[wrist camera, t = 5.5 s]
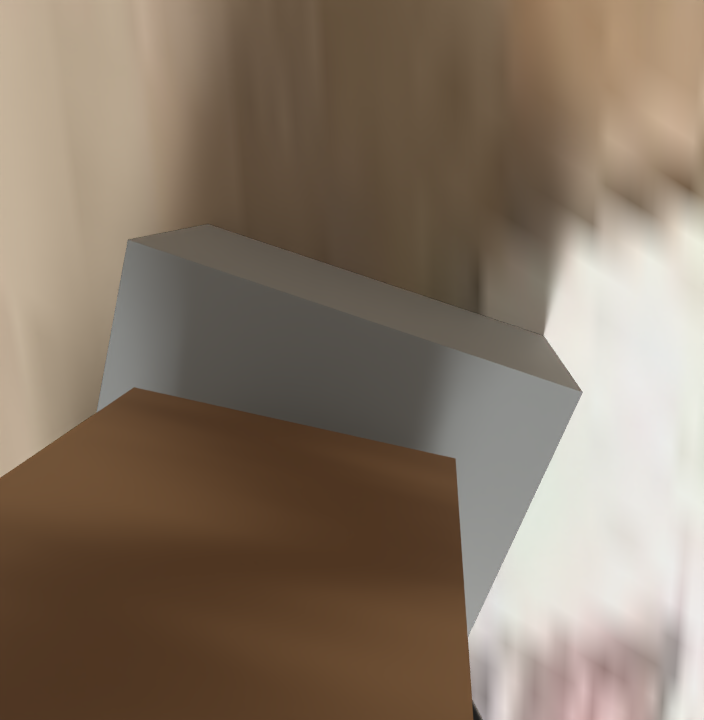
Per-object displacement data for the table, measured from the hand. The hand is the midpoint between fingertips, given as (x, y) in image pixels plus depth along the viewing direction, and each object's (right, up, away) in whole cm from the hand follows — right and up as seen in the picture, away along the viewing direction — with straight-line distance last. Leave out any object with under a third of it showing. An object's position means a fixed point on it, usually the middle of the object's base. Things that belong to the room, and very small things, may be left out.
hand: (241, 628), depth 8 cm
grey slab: (+1, +2, +7) cm, 7 cm away
